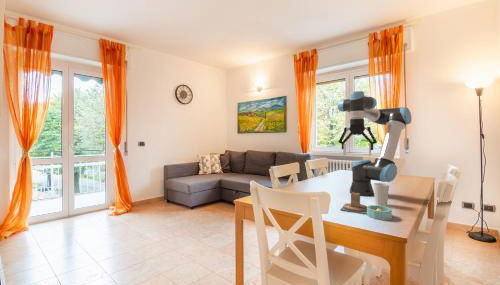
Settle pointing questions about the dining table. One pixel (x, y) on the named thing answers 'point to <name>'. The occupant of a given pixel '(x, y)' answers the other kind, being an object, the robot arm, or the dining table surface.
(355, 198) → the lid
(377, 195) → the cup
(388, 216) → the bowl
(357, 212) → the mat
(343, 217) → the dining table surface
